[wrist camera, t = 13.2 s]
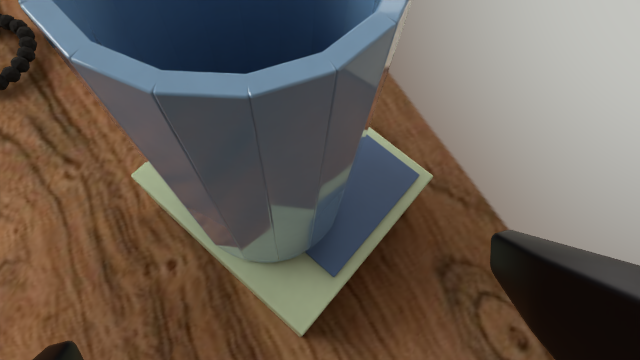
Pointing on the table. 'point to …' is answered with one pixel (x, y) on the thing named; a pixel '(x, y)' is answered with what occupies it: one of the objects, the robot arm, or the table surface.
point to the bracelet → (23, 53)
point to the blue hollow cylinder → (237, 102)
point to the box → (337, 245)
